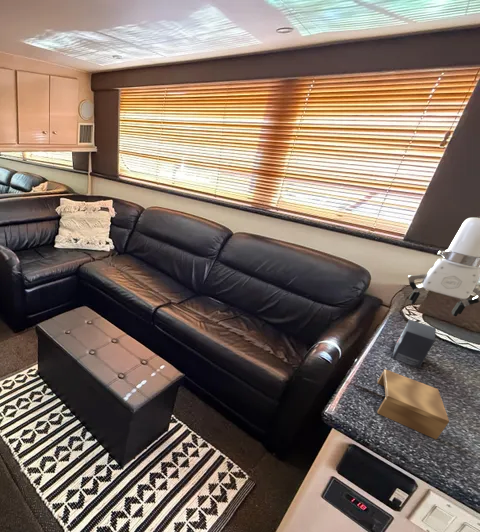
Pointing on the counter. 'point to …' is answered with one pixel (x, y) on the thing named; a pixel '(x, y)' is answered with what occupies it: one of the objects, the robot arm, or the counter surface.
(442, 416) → the tan bracket
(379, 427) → the counter surface
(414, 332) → the small box
